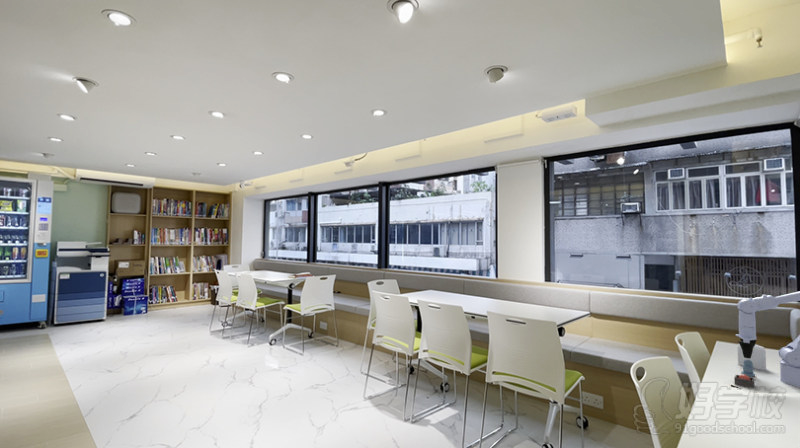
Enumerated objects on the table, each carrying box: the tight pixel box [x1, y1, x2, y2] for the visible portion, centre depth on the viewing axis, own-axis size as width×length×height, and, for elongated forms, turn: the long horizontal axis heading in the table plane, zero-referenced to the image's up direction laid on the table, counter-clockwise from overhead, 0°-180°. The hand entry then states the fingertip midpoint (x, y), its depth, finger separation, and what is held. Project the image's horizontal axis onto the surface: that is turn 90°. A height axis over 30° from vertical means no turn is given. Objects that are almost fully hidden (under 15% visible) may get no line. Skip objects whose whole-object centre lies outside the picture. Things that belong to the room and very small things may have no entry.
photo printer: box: [737, 343, 767, 371], centre depth 185 cm, size 10×4×12 cm, turn 39°
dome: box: [739, 374, 751, 381], centre depth 158 cm, size 4×4×4 cm
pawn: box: [740, 360, 756, 378], centre depth 171 cm, size 5×5×7 cm
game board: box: [730, 372, 758, 390], centre depth 165 cm, size 26×8×4 cm, turn 133°
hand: (747, 356), depth 170 cm, fingers open, 7 cm apart
